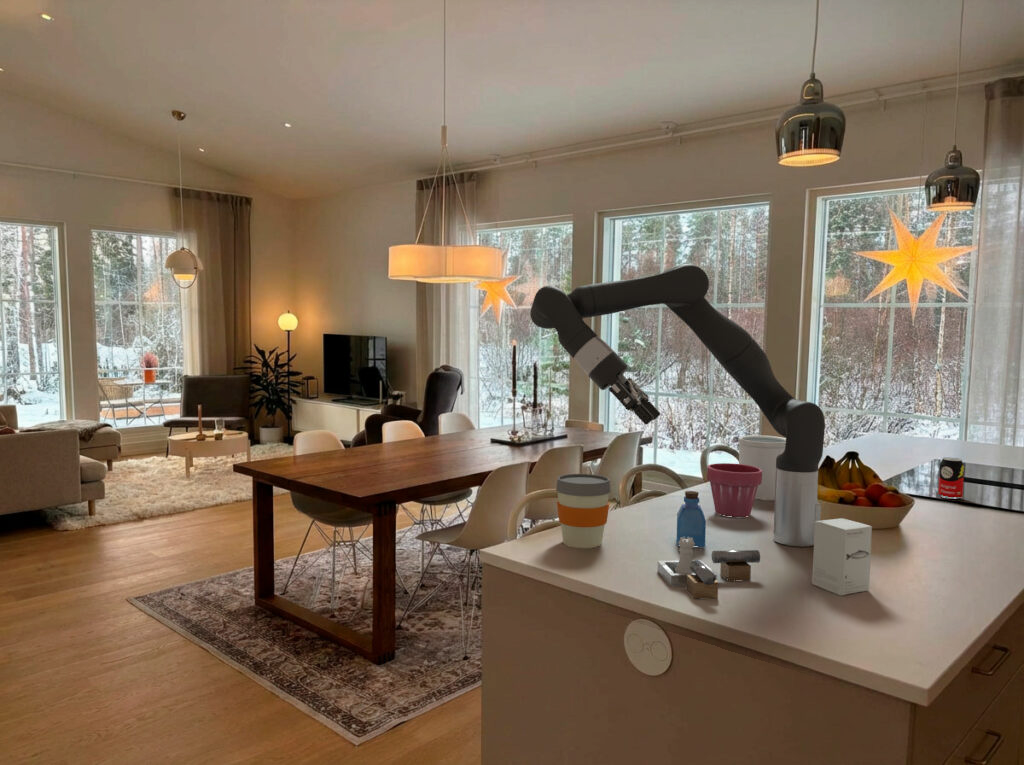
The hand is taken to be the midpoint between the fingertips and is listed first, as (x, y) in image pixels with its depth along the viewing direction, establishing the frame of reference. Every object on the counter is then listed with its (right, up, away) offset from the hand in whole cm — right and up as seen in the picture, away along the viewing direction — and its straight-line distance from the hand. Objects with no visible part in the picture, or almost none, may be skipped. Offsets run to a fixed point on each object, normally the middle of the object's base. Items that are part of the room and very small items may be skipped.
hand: (653, 419), depth 150 cm
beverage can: (+103, -28, +70) cm, 127 cm away
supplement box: (+34, -32, -11) cm, 48 cm away
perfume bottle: (+12, -30, +19) cm, 37 cm away
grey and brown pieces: (+10, -31, -10) cm, 35 cm away
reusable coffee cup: (-13, -30, +18) cm, 37 cm away
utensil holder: (+47, -27, +71) cm, 89 cm away
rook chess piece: (+5, -31, -6) cm, 32 cm away
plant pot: (+31, -28, +47) cm, 63 cm away
